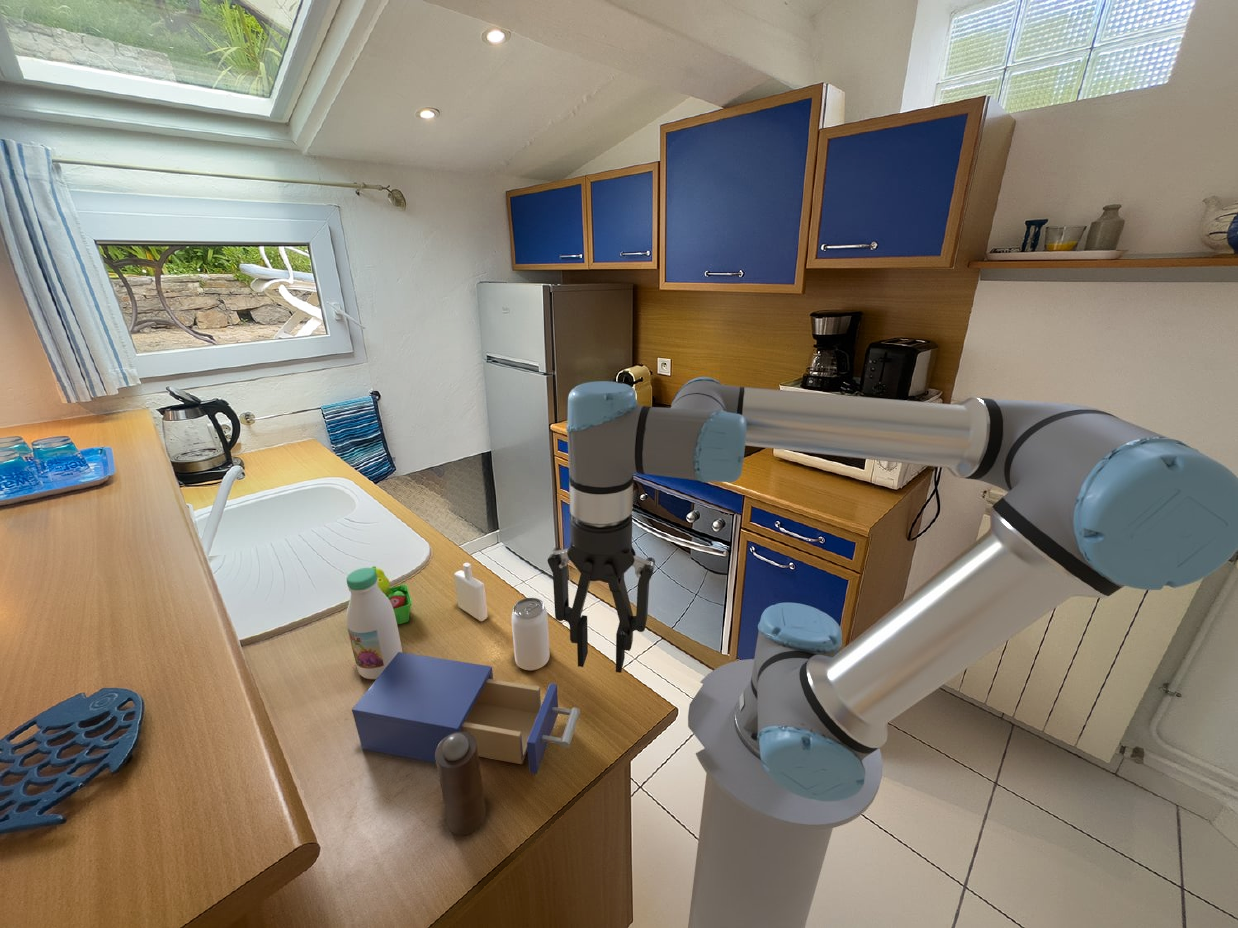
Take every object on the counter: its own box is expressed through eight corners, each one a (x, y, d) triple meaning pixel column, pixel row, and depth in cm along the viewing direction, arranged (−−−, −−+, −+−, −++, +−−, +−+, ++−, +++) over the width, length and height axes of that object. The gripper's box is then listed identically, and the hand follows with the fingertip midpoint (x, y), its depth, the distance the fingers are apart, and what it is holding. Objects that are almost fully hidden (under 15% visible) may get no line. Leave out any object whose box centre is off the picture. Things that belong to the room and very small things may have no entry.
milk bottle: (388, 643, 96) (370, 556, 88) (412, 660, 92) (395, 571, 84) (349, 667, 90) (326, 577, 83) (372, 687, 86) (350, 594, 79)
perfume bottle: (488, 617, 104) (483, 569, 99) (481, 622, 102) (475, 573, 97) (465, 601, 108) (459, 555, 103) (457, 606, 107) (451, 559, 102)
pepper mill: (491, 800, 69) (481, 724, 63) (476, 839, 64) (463, 761, 58) (458, 794, 69) (445, 718, 64) (440, 831, 65) (424, 753, 59)
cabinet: (496, 703, 84) (492, 666, 80) (463, 768, 73) (457, 728, 70) (406, 688, 86) (398, 651, 83) (362, 748, 76) (351, 709, 72)
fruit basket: (354, 642, 96) (342, 595, 92) (351, 616, 103) (340, 571, 99) (416, 623, 101) (407, 578, 97) (409, 599, 109) (401, 556, 104)
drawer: (583, 717, 80) (583, 688, 78) (565, 779, 71) (564, 748, 68) (469, 698, 83) (465, 669, 81) (437, 755, 74) (432, 724, 71)
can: (507, 661, 92) (502, 610, 88) (532, 641, 97) (528, 591, 93) (533, 677, 89) (529, 624, 84) (556, 655, 94) (554, 604, 89)
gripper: (677, 505, 61) (667, 651, 70) (541, 492, 64) (548, 634, 73) (672, 536, 54) (662, 693, 63) (519, 520, 57) (531, 673, 66)
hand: (601, 661), depth 68 cm, fingers open, 5 cm apart
